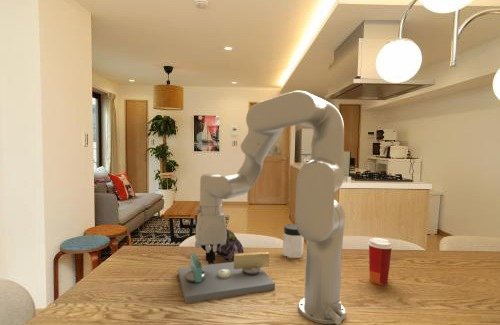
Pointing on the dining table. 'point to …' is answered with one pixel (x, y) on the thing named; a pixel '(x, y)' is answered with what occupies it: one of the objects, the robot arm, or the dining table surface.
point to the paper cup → (379, 260)
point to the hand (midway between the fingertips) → (210, 262)
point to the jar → (292, 242)
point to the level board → (223, 283)
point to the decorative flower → (230, 246)
